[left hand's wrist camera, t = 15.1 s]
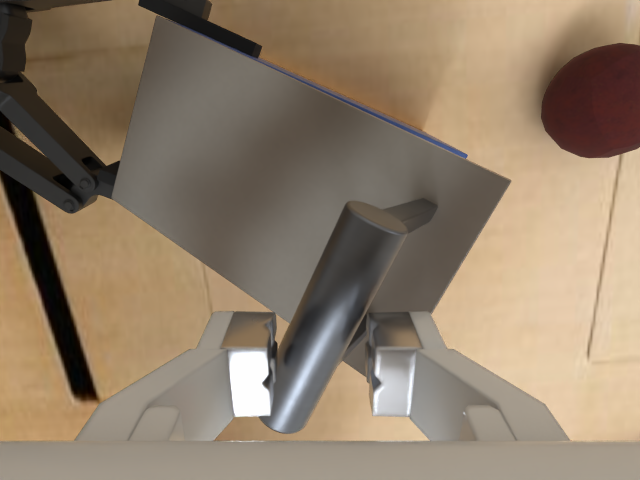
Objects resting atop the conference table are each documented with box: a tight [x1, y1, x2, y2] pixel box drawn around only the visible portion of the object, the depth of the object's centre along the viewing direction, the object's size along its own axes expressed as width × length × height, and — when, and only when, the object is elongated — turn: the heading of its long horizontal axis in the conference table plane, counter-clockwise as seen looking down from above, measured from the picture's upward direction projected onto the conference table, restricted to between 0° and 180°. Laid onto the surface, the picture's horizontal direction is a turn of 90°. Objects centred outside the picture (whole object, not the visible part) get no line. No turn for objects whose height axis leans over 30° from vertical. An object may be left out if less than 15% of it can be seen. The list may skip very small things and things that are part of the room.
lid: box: [111, 16, 511, 434], centre depth 16 cm, size 18×10×8 cm, turn 70°
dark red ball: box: [541, 43, 640, 158], centre depth 29 cm, size 7×8×7 cm
